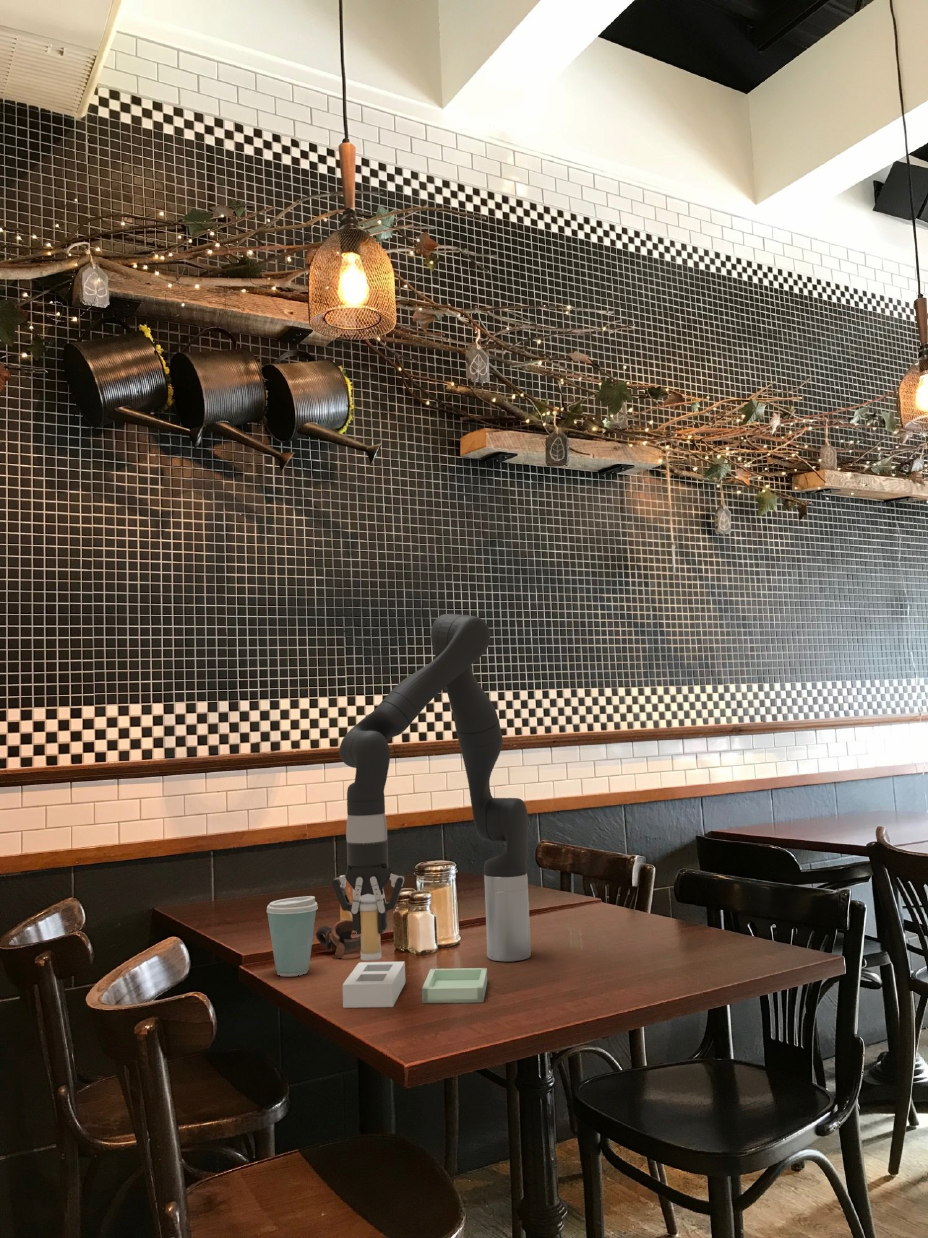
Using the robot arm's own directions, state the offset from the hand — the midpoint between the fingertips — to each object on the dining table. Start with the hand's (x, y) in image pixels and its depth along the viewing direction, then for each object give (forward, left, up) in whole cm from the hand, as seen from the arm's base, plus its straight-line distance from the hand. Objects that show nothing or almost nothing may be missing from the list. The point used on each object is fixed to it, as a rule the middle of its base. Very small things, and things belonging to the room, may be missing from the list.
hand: (370, 932), depth 181 cm
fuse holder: (-3, 0, -12) cm, 12 cm away
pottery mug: (-36, -13, -12) cm, 40 cm away
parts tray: (-4, +15, -12) cm, 20 cm away
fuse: (0, 0, -4) cm, 4 cm away
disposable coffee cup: (-20, -20, -12) cm, 31 cm away
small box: (-60, -14, -12) cm, 63 cm away
